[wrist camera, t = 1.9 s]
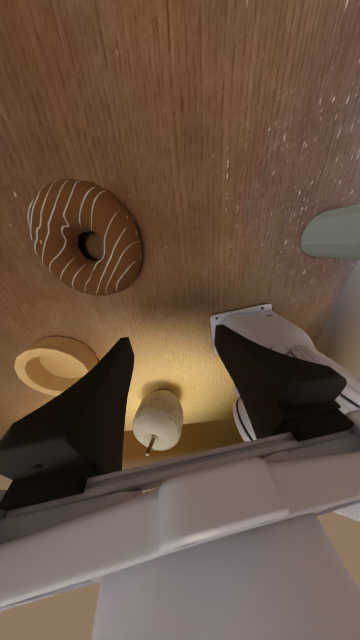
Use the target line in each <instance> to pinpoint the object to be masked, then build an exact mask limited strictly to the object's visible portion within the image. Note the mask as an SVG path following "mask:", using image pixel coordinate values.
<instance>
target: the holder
mask: <svg viewBox="0 0 360 640" xmlns="http://www.w3.org/2000/svg"><path fill="white" fill-rule="evenodd" d="M97 363H98V360H97V357H96V356H95V354H94V353H93V351H92V350H91V349H90V348H88V347H87V346H86V345H84V344H83V343H81V342H79V341H77V340H74V339H71V338H67V337H60V336H53V337H47V338H44V339H41V340H40V341H38V342H37V343H35V344H34V345H32V346H31V347H30V348H28V349H27V350H26V351H24V352H23V353H22V354H20V355H19V356H18V357H17V358H16V361H15V365H14V368H15V370H16V373H17V375H18V377H19V378H20V379H21V380H22V381H23V382H24V383H25V384H26V385H28V386H29V387H31V388H33V389H35V390H37V391H39V392H42V393H46V394H49V395H54V396H58V395H59V394H61V393H62V392H64V391H65V390H66V389H68V388H69V387H70V386H72V385H73V384H74V383H76V382H77V381H78V380H79V379H81V378H82V377H83V376H84V375H85V374H87V373H88V372H89V371H90V370H91V369H92V368H93V367H94V366H95V365H96V364H97Z"/></svg>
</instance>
